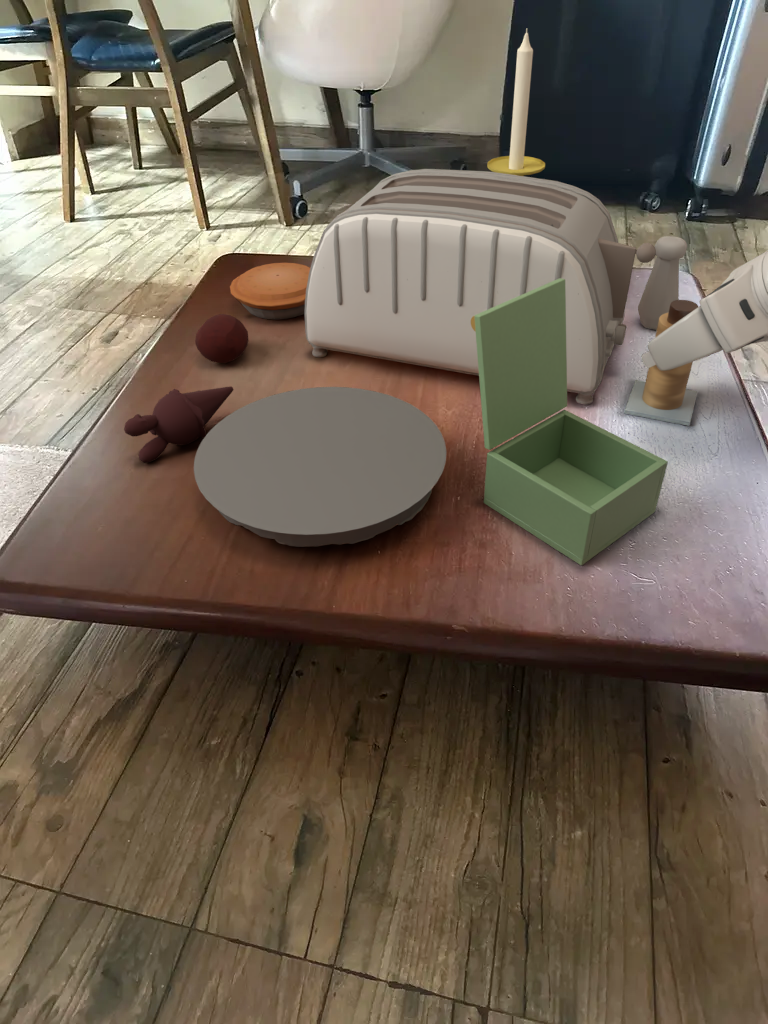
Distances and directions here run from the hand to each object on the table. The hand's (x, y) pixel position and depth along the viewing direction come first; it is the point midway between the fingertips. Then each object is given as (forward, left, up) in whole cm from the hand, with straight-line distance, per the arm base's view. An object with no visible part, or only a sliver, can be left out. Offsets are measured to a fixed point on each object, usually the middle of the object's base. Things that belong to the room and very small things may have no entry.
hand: (669, 347), depth 96 cm
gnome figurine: (+53, +29, -8) cm, 61 cm away
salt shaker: (+4, -23, -8) cm, 24 cm away
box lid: (+13, +22, +7) cm, 26 cm away
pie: (+61, -9, -8) cm, 62 cm away
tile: (-1, 0, -8) cm, 8 cm away
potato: (+60, +9, -8) cm, 61 cm away
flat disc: (+33, +31, -8) cm, 46 cm away
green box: (+6, +25, -8) cm, 27 cm away
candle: (+28, -25, -8) cm, 38 cm away
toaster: (+27, -5, -8) cm, 28 cm away
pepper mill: (-1, 0, -7) cm, 7 cm away
